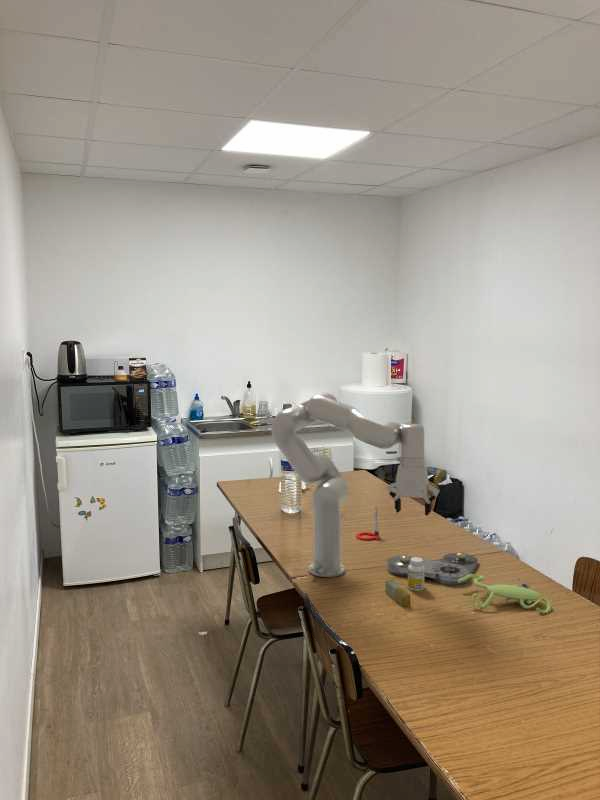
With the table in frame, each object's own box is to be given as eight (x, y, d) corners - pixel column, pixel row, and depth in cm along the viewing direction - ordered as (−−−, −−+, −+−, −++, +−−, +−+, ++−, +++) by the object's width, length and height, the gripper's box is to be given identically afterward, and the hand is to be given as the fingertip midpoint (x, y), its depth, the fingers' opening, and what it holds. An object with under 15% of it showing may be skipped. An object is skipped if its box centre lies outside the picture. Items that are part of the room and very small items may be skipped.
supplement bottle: (412, 583, 222) (413, 555, 221) (427, 587, 219) (428, 559, 217) (404, 588, 218) (405, 559, 217) (419, 592, 215) (419, 563, 213)
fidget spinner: (480, 560, 243) (481, 551, 243) (463, 587, 218) (463, 577, 218) (448, 554, 249) (448, 545, 248) (427, 581, 224) (427, 571, 223)
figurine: (456, 587, 220) (456, 570, 219) (539, 591, 217) (540, 575, 216) (463, 611, 202) (463, 594, 201) (554, 616, 199) (555, 598, 198)
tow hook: (356, 541, 264) (379, 541, 264) (355, 509, 263) (378, 509, 262) (355, 534, 272) (378, 534, 272) (354, 504, 271) (377, 503, 270)
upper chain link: (463, 587, 218) (464, 573, 218) (382, 572, 231) (382, 559, 230) (471, 575, 229) (471, 561, 228) (393, 561, 241) (393, 548, 241)
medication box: (384, 592, 215) (384, 580, 215) (392, 591, 216) (392, 579, 216) (403, 607, 204) (403, 595, 203) (411, 606, 205) (411, 593, 204)
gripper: (383, 462, 217) (384, 513, 219) (436, 466, 210) (436, 518, 212) (390, 458, 224) (390, 507, 226) (441, 461, 216) (441, 512, 218)
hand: (412, 513), depth 219 cm, fingers open, 9 cm apart
